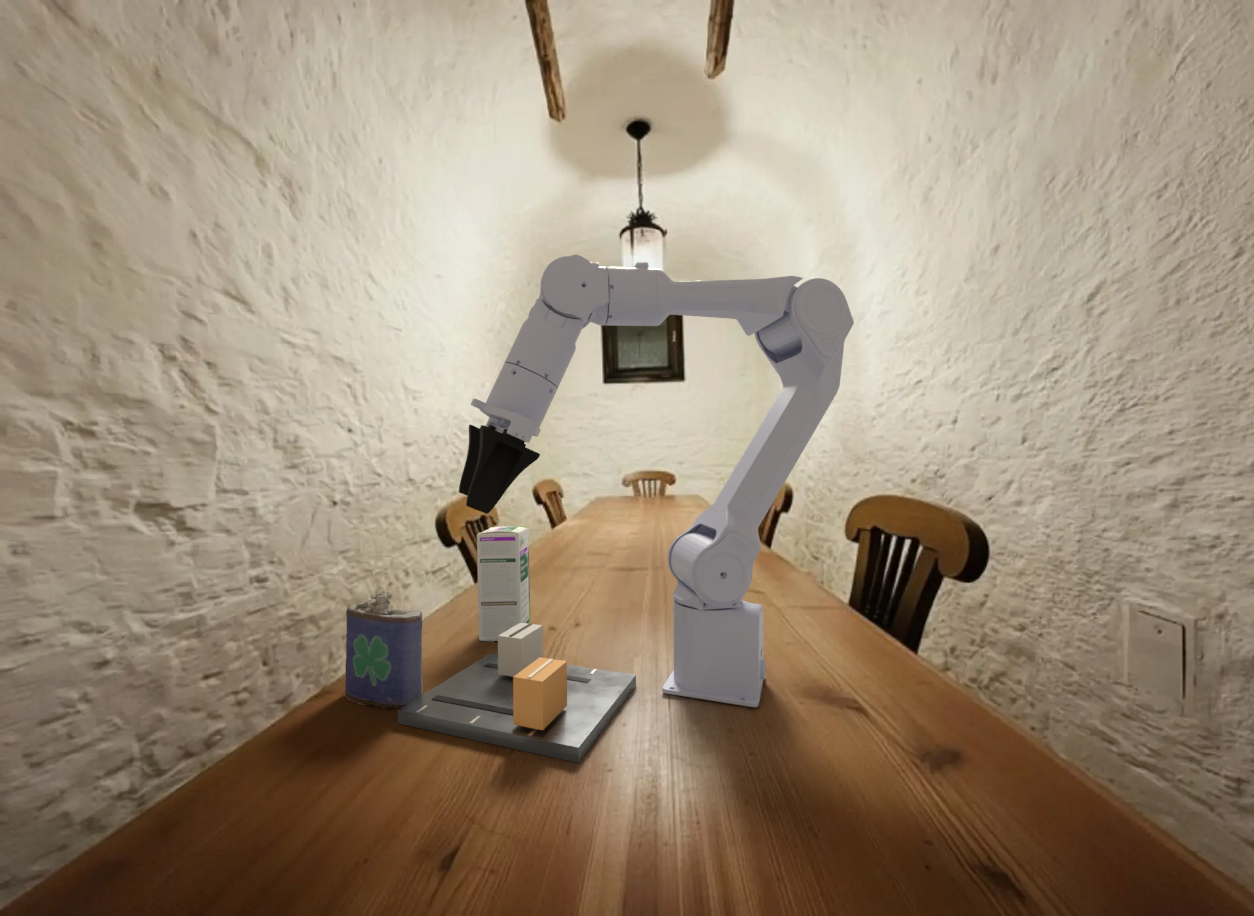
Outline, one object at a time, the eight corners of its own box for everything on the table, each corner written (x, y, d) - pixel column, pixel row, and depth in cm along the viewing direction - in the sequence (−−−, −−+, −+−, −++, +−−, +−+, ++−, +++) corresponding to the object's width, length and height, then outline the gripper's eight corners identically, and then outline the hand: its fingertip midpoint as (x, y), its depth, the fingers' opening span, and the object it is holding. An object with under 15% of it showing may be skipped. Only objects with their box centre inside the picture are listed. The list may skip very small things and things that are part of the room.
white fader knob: (542, 661, 55) (542, 624, 55) (521, 678, 51) (521, 637, 51) (520, 658, 56) (520, 621, 56) (497, 674, 52) (497, 634, 52)
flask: (428, 701, 49) (427, 592, 49) (405, 715, 46) (404, 600, 46) (360, 686, 52) (359, 585, 52) (335, 699, 50) (334, 592, 50)
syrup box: (521, 642, 65) (521, 531, 65) (476, 642, 65) (476, 531, 65) (530, 627, 71) (530, 525, 71) (489, 627, 71) (489, 525, 71)
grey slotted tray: (636, 686, 52) (635, 674, 52) (578, 763, 39) (578, 747, 39) (490, 663, 58) (490, 652, 58) (397, 723, 45) (397, 709, 45)
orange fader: (567, 705, 45) (566, 660, 45) (542, 730, 41) (542, 680, 41) (539, 700, 46) (539, 656, 46) (513, 724, 42) (513, 675, 42)
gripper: (483, 363, 54) (429, 476, 53) (506, 349, 41) (435, 499, 40) (541, 392, 57) (490, 500, 56) (580, 388, 44) (515, 529, 43)
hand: (472, 502), depth 48 cm, fingers open, 7 cm apart
